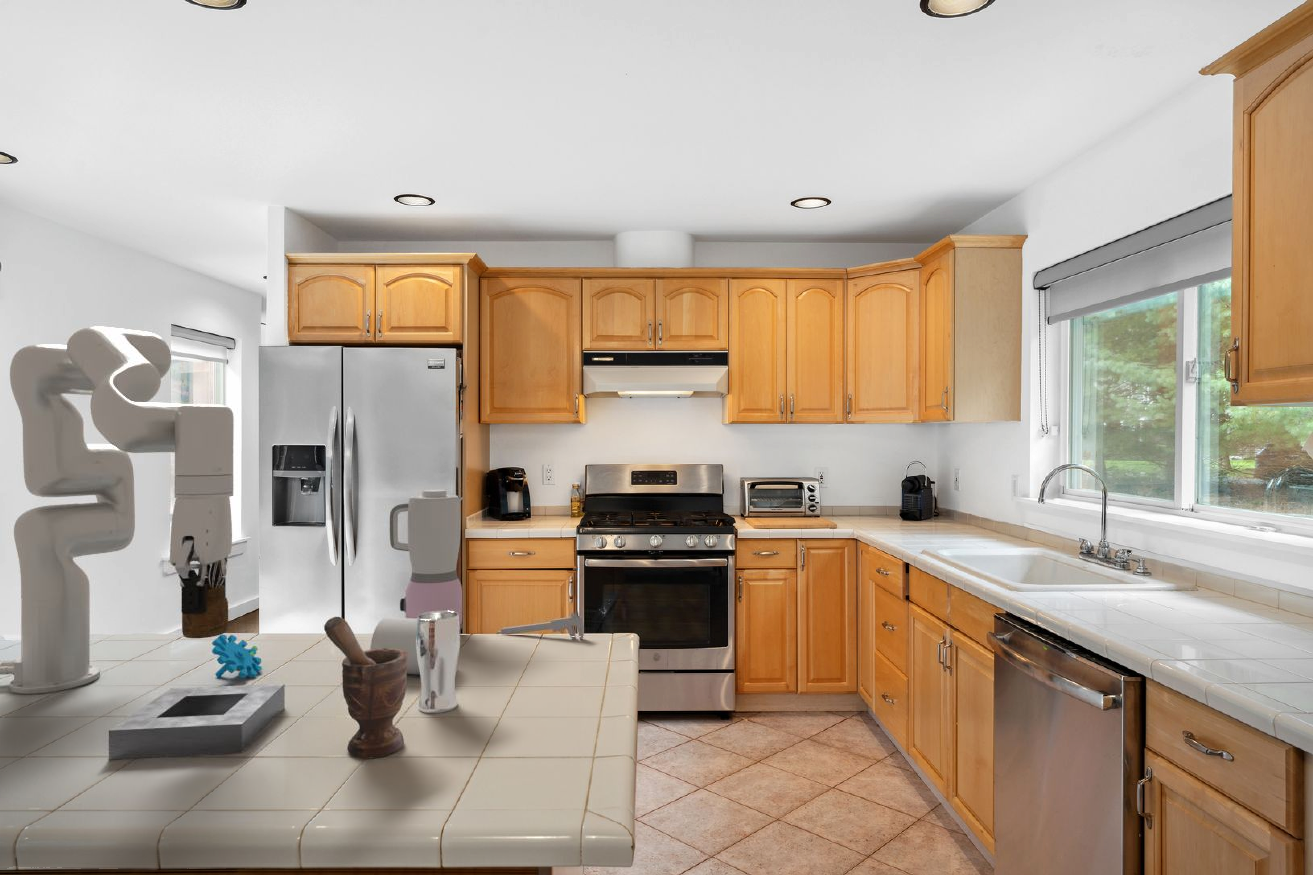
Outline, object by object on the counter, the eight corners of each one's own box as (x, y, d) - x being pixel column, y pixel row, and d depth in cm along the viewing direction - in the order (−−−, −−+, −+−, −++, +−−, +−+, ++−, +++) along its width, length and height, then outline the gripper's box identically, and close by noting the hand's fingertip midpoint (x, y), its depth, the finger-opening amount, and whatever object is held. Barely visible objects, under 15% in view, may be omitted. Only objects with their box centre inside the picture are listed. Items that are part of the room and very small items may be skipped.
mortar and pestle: (372, 774, 98) (373, 622, 98) (314, 768, 99) (314, 618, 99) (418, 739, 109) (418, 602, 109) (364, 734, 111) (365, 599, 111)
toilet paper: (370, 680, 135) (370, 624, 135) (395, 663, 145) (395, 612, 145) (423, 682, 134) (423, 626, 134) (445, 665, 144) (445, 613, 144)
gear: (241, 677, 131) (206, 635, 133) (216, 701, 131) (182, 658, 133) (277, 666, 142) (245, 627, 144) (254, 688, 142) (222, 649, 144)
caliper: (583, 640, 163) (583, 611, 163) (582, 641, 162) (582, 612, 162) (498, 633, 168) (498, 605, 168) (495, 635, 167) (495, 607, 167)
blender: (464, 625, 174) (464, 488, 174) (461, 639, 162) (462, 492, 162) (393, 628, 171) (393, 489, 171) (385, 643, 159) (385, 493, 159)
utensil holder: (236, 632, 113) (236, 552, 112) (192, 642, 107) (192, 558, 107) (215, 626, 116) (216, 549, 116) (171, 635, 110) (171, 554, 110)
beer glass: (468, 702, 124) (468, 612, 124) (440, 717, 117) (440, 622, 117) (436, 696, 127) (436, 608, 127) (406, 710, 120) (406, 617, 120)
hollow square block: (108, 759, 102) (108, 730, 102) (171, 713, 119) (171, 688, 119) (241, 752, 104) (241, 723, 104) (284, 708, 121) (284, 683, 121)
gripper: (203, 483, 119) (203, 596, 119) (146, 491, 102) (146, 623, 102) (253, 483, 120) (253, 595, 120) (205, 491, 103) (205, 621, 103)
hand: (204, 606), depth 111 cm, fingers closed on utensil holder, 5 cm apart
